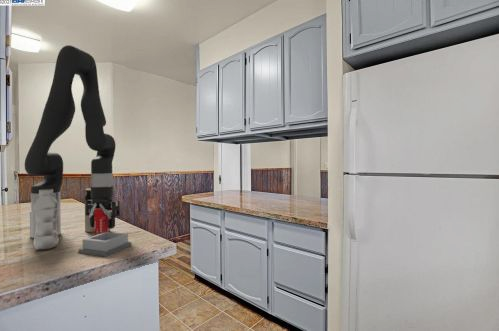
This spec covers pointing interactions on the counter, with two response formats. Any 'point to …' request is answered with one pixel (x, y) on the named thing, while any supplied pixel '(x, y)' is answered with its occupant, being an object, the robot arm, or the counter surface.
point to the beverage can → (100, 221)
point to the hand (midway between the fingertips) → (102, 227)
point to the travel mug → (87, 218)
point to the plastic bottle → (46, 220)
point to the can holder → (105, 244)
